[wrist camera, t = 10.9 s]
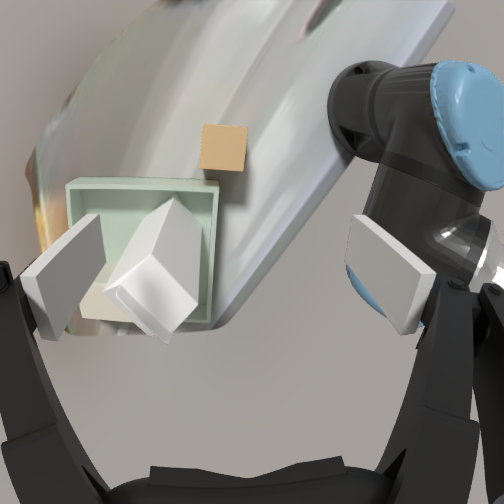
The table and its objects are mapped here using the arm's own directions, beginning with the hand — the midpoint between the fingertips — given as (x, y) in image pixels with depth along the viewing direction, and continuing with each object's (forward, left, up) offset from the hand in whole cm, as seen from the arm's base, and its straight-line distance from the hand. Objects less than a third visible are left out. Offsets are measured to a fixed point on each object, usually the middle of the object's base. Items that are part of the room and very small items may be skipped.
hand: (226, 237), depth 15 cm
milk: (+5, +9, -26) cm, 28 cm away
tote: (+10, +13, -27) cm, 31 cm away
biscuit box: (0, -2, -27) cm, 27 cm away
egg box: (+14, +18, -26) cm, 35 cm away
